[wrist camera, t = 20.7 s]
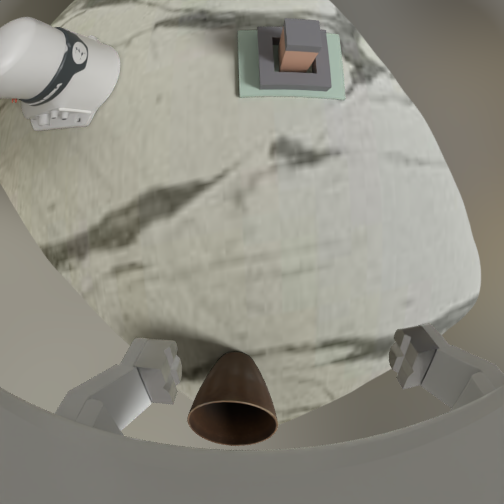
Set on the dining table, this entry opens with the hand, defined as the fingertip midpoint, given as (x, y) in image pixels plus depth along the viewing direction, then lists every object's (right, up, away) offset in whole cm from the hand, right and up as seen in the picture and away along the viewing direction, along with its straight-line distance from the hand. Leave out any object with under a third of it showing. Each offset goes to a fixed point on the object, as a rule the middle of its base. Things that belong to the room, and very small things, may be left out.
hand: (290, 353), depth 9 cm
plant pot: (-4, -20, +44) cm, 48 cm away
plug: (+5, +32, +24) cm, 40 cm away
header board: (+5, +32, +24) cm, 41 cm away
